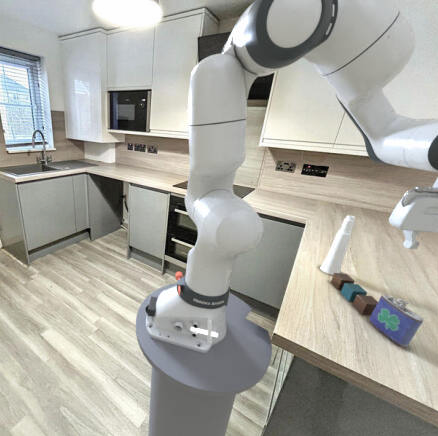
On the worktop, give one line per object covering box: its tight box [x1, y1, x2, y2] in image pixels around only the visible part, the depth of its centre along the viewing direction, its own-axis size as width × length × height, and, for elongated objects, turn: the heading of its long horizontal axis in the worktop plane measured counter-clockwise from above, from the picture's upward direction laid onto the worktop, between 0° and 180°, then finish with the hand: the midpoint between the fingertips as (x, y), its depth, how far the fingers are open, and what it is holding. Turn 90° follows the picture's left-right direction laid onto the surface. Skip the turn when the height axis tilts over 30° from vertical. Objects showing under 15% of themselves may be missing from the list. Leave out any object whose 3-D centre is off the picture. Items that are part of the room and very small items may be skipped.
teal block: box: [340, 283, 368, 303], centre depth 73 cm, size 4×4×4 cm
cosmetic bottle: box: [320, 215, 356, 276], centre depth 83 cm, size 6×6×22 cm
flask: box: [368, 294, 424, 349], centre depth 60 cm, size 9×3×11 cm, turn 3°
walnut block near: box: [352, 294, 379, 317], centre depth 68 cm, size 4×4×4 cm
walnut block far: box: [330, 272, 356, 291], centre depth 78 cm, size 4×4×4 cm
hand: (432, 249), depth 52 cm, fingers open, 8 cm apart
